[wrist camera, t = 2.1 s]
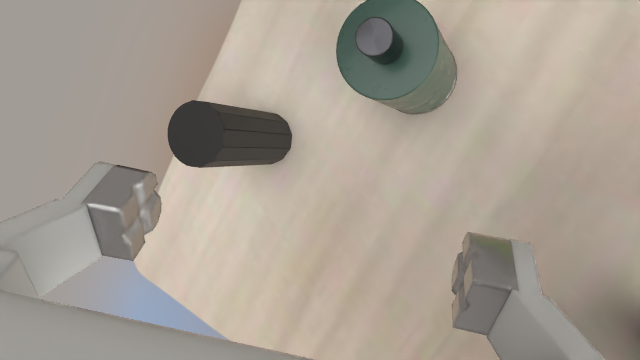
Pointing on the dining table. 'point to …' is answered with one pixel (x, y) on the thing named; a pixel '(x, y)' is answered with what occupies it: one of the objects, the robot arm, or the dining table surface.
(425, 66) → the flask
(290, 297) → the dining table surface
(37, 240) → the robot arm
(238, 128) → the ribbed black grip post
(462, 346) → the dining table surface
